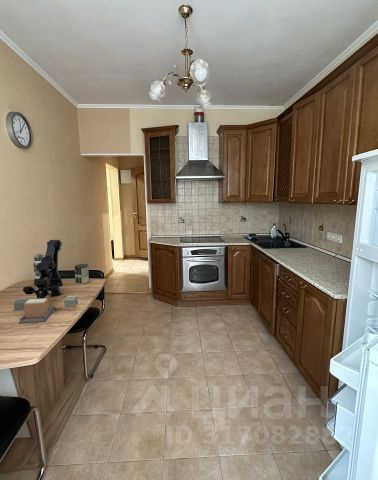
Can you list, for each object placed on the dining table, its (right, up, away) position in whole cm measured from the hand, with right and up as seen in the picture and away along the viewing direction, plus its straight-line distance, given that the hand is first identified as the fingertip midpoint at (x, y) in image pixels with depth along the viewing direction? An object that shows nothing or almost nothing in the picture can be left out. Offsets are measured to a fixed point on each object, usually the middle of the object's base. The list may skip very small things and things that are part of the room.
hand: (38, 303), depth 142 cm
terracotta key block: (+1, -6, -2) cm, 6 cm away
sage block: (+12, -5, +15) cm, 19 cm away
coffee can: (-1, +2, +59) cm, 59 cm away
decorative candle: (-27, +1, +49) cm, 56 cm away
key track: (0, -7, -1) cm, 7 cm away
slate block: (-16, -5, +9) cm, 19 cm away
